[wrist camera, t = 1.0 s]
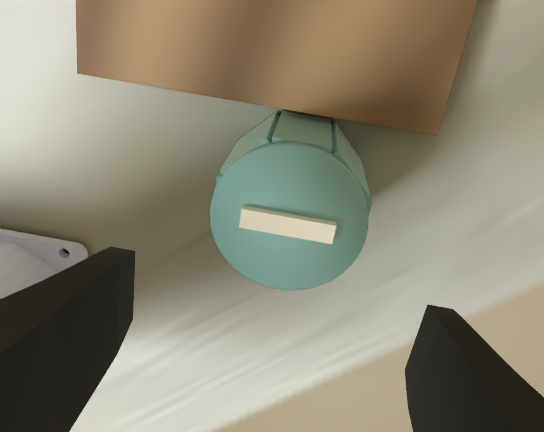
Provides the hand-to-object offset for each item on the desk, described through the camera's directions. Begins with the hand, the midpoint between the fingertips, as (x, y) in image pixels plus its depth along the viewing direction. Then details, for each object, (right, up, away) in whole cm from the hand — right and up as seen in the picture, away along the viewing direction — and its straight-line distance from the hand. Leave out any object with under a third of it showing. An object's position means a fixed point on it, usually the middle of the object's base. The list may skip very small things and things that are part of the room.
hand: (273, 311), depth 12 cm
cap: (+1, +4, +9) cm, 10 cm away
